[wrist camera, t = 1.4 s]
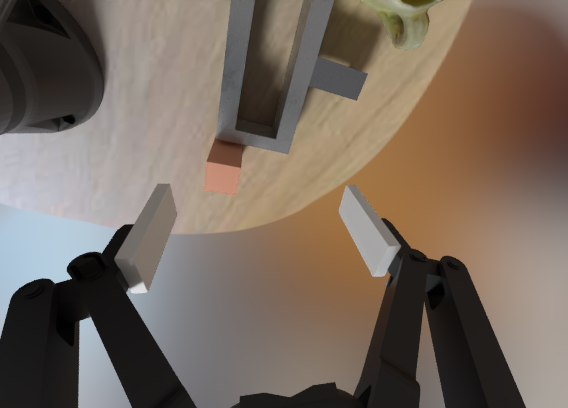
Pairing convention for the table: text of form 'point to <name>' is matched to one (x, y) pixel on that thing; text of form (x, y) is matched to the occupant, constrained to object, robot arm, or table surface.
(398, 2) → the mug
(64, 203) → the table surface
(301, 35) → the hollow metal rectangle ring
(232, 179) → the terracotta clay brick
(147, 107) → the table surface
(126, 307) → the robot arm
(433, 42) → the table surface
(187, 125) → the table surface
